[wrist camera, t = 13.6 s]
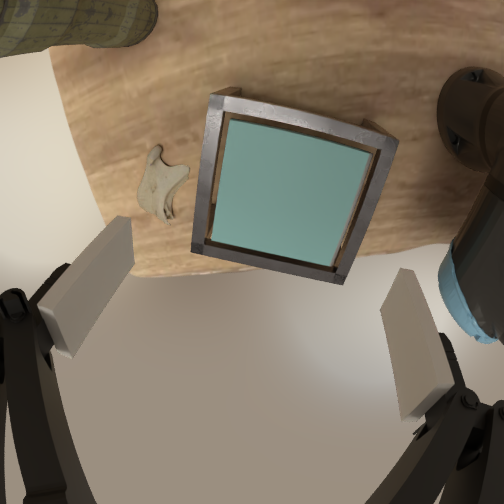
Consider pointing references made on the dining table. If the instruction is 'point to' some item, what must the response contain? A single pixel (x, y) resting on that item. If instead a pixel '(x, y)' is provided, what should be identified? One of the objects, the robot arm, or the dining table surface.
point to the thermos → (73, 24)
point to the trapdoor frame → (363, 134)
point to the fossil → (160, 185)
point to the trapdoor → (287, 192)
